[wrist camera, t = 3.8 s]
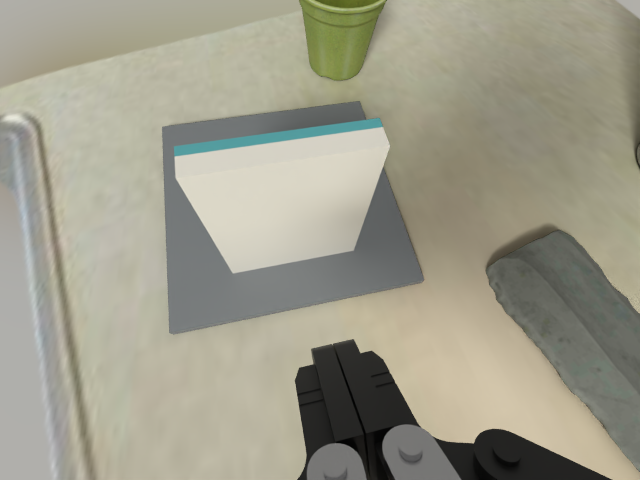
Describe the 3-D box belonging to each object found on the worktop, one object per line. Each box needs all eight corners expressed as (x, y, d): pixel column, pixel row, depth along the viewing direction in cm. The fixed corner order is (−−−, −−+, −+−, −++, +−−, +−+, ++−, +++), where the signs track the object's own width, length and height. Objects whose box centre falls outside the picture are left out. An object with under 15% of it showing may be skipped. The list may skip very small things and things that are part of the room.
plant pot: (281, 49, 39) (275, -38, 31) (350, 28, 41) (361, -58, 33) (317, 102, 36) (321, 20, 28) (391, 77, 38) (414, -6, 30)
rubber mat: (165, 132, 33) (162, 126, 32) (358, 107, 36) (359, 101, 35) (173, 334, 25) (169, 332, 24) (421, 282, 28) (424, 279, 27)
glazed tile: (230, 253, 27) (173, 146, 15) (348, 231, 28) (379, 117, 17) (232, 273, 27) (175, 177, 15) (353, 250, 28) (390, 145, 16)
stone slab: (545, 233, 32) (472, 274, 29) (569, 219, 30) (492, 261, 26) (757, 477, 25) (693, 573, 21) (811, 484, 22) (749, 593, 19)
